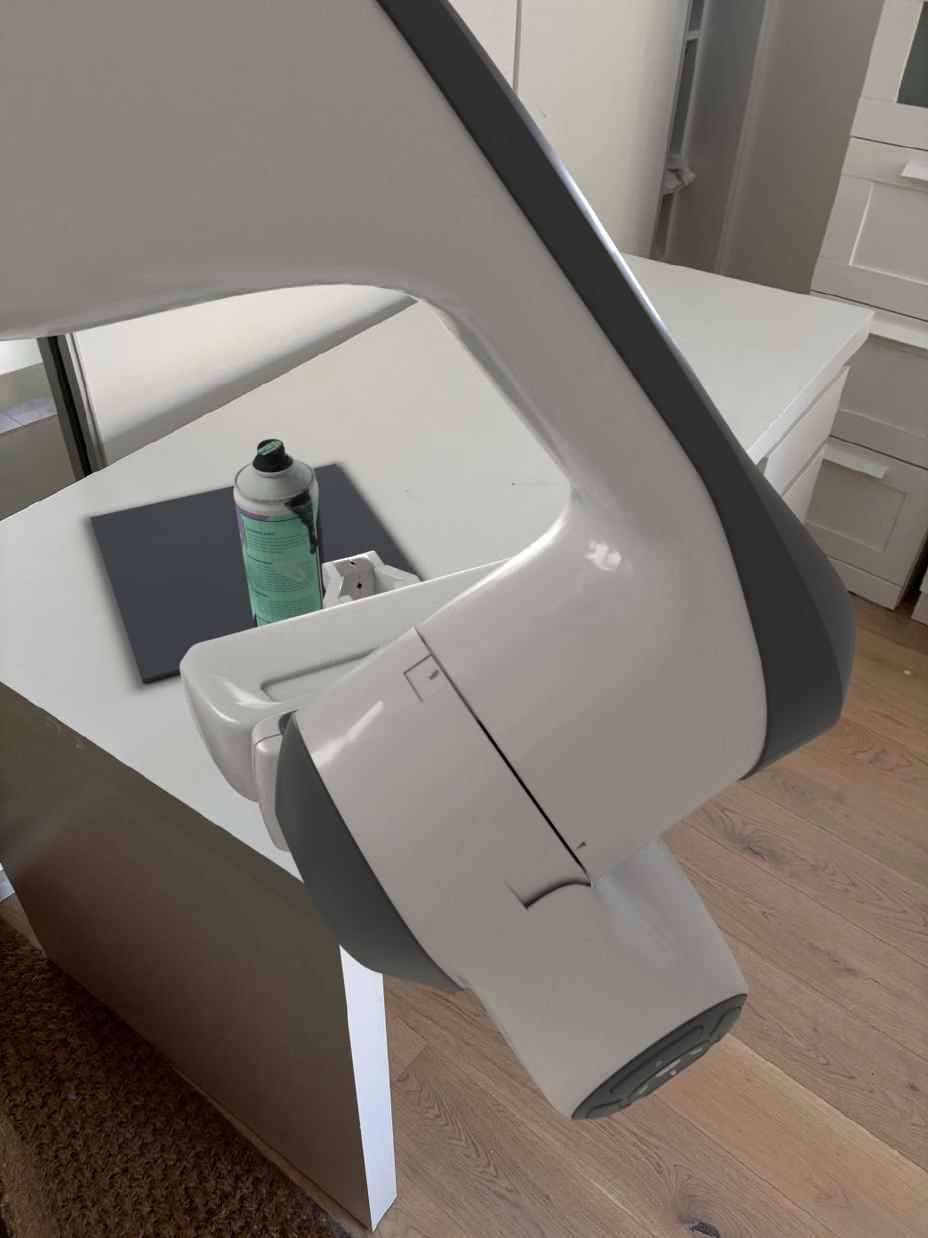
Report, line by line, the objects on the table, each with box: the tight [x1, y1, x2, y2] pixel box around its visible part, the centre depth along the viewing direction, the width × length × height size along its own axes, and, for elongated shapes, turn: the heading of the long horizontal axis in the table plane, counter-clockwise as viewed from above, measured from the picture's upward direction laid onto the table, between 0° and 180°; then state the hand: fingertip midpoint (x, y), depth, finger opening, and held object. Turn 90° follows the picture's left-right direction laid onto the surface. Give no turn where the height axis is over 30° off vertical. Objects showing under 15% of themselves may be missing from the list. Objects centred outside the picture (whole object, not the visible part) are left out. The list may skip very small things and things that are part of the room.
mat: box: [89, 463, 416, 684], centre depth 85 cm, size 24×24×1 cm
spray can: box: [233, 438, 326, 628], centre depth 68 cm, size 6×6×20 cm
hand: (347, 567), depth 52 cm, fingers closed
